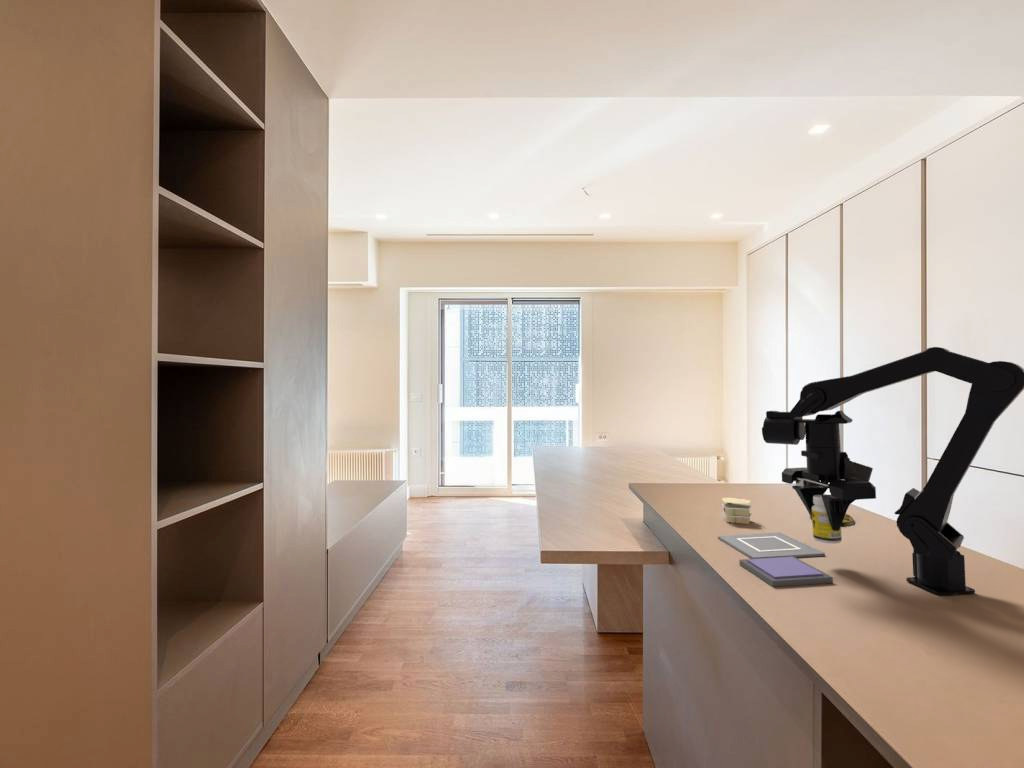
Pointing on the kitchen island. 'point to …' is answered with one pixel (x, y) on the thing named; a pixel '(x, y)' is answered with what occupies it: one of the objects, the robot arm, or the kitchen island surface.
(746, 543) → the board
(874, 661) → the kitchen island surface
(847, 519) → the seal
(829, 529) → the supplement bottle
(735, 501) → the cream tiered block
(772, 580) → the pad
